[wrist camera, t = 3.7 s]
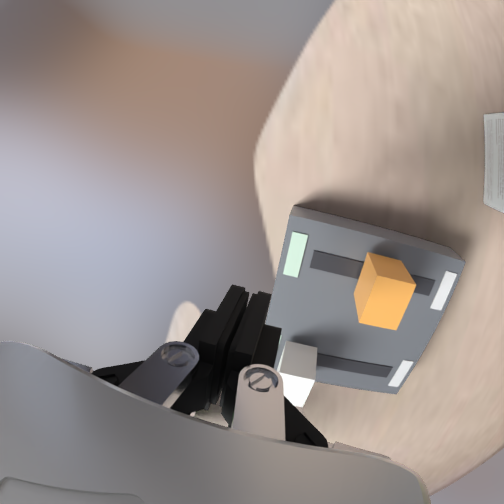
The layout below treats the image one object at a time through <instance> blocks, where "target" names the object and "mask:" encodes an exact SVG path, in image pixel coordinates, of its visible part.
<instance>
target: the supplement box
mask: <svg viewBox="0 0 504 504" xmlns="http://www.w3.org/2000/svg"><path fill="white" fill-rule="evenodd" d="M484 136H485V175H484V196H483V202H484V204H485V205H487V206H489V207H491V208H493V209H495V210H498V211H500V212H502V213H504V113H493V114H484Z"/></svg>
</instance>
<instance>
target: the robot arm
mask: <svg viewBox="0 0 504 504" xmlns="http://www.w3.org/2000/svg"><path fill="white" fill-rule="evenodd" d="M248 297H249V292H246V291H245V288H244V287H240V286H236V285H232V286H231V287H230V289H229V291H228V292H227V294H226V296H225V298H224V299H223V301H222V302H221V304H220V306H219V308H218V309H217V311H213V310H209V309H205V310H204V312H203V313H202V315H201V316H200V318H199V319H198V321H197V322H196V324H195V325H194V327H193V328H192V330H191V331H190V333H189V334H188V336H187V337H186V339H185V340H184V342H178V341H174V342H168V343H165V344H163V345H162V346H160V347H159V348H158V349H157V350H156V351H155V352H154V353H153V354H152V355H151V356H150V357H149V358H147V359H146V360H145V361H139V362H134V363H129V364H123V365H117V366H111V367H106V368H101V369H98V370H96V371H93V369H92V367H89V366H86V365H82V364H79V363H75V362H72V361H68V360H65V359H62V358H60V357H57V356H56V355H54V354H52V353H50V352H48V351H46V350H43V349H41V348H39V347H36V346H33V345H30V344H27V343H22V342H18V341H3V342H0V504H431V500H430V497H429V493H428V490H427V487H426V485H425V483H424V481H423V479H422V478H421V476H420V475H419V474H418V473H417V472H415V471H414V470H413V469H411V468H409V467H407V466H405V465H403V464H401V463H398V462H396V461H393V460H391V459H390V458H389V457H387V456H385V455H382V454H378V453H374V452H370V451H366V450H363V449H359V448H356V447H352V446H349V445H346V444H342V443H339V442H335V443H334V444H332V443H329V442H327V440H326V439H325V437H324V436H323V435H322V434H321V433H320V432H319V431H318V430H317V429H316V428H315V427H314V426H313V425H312V424H311V423H310V422H309V421H308V420H307V419H306V418H305V417H304V416H303V415H302V414H301V413H300V412H299V411H298V409H297V408H296V407H295V406H294V405H293V404H292V403H291V402H290V401H289V400H288V399H287V398H286V397H285V396H284V388H283V379H282V376H281V375H280V374H279V372H277V371H276V370H275V369H274V365H275V360H276V356H277V351H278V346H279V341H280V336H281V331H282V328H279V327H275V326H271V325H266V324H265V320H266V316H267V312H268V307H269V303H270V299H271V294H268V293H264V292H260V291H259V292H258V294H254V293H253V294H252V297H251V299H250V301H249V304H248V306H247V302H248ZM221 391H222V394H221V400H220V406H222V413H221V414H222V416H223V417H224V418H225V420H226V421H227V423H228V427H225V426H221V425H218V424H215V423H211V422H208V421H205V420H202V419H199V418H196V417H194V416H195V412H196V411H199V410H202V409H205V410H208V409H209V407H210V404H211V403H212V404H216V403H217V401H218V398H219V396H220V393H221Z"/></svg>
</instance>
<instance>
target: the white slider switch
mask: <svg viewBox="0 0 504 504" xmlns="http://www.w3.org/2000/svg"><path fill="white" fill-rule="evenodd" d="M316 362H317V347H312V346H308V345H303V344H299V343H295V342H290V341H286V342H285V346H284V349H283V352H282V355H281V359H280V362H279V365H278V368H277V372H279V374H280V375H281V376H282V379H283V388H284V396H285V397H286V398H287V399H288V400H289V401H290V402H291V403H292V404H293V405H294V406H299V407H303V405H304V403H305V401H306V399H307V397H308V395H309V393H310V390H311V388H312V386H313V384H314V382H315V376H316Z"/></svg>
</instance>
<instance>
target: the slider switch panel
mask: <svg viewBox="0 0 504 504" xmlns="http://www.w3.org/2000/svg"><path fill="white" fill-rule="evenodd" d="M367 252H370V253H374V254H378V255H381V256H385V257H389V258H393V259H397V260H401V261H402V263H403V264H404V266H405V267H406V269H407V271H408V272H409V274H410V275H411V277H412V279H413V280H414V282H415V283H416V287H415V290H414V292H413V294H412V297H411V299H410V301H409V304H408V306H407V308H406V310H405V313H404V315H403V317H402V319H401V321H400V323H399V326H398V328H397V330H391V329H386V328H381V327H376V326H372V325H367V324H362V323H359V320H358V315H357V309H356V304H355V298H354V291H355V288H356V285H357V282H358V280H359V277H360V274H361V271H362V268H363V265H364V262H365V258H366V255H367ZM464 265H465V261H464V260H463V259H462V258H461V257H460V256H459V255H458V254H457V253H456V252H454V251H453V250H452V249H451V248H450V247H446V246H443V245H440V244H437V243H434V242H430V241H427V240H424V239H420V238H417V237H413V236H410V235H407V234H403V233H400V232H396V231H393V230H389V229H385V228H382V227H378V226H374V225H371V224H367V223H363V222H359V221H355V220H352V219H348V218H344V217H340V216H336V215H332V214H328V213H323V212H319V211H315V210H311V209H307V208H302V207H298V206H293V208H292V210H291V213H290V216H289V220H288V225H287V230H286V235H285V239H284V244H283V248H282V253H281V258H280V262H279V267H278V271H277V275H276V280H275V284H274V289H273V293H272V297H271V302H270V306H269V310H268V314H267V319H266V325H271V326H275V327H279V328H282V331H281V336H280V341H279V346H278V351H277V356H276V360H275V365H274V369H275V370H276V371H277V368H278V365H279V362H280V359H281V355H282V352H283V349H284V346H285V342H286V341H290V342H295V343H299V344H303V345H308V346H312V347H317V362H316V376H315V381H316V382H321V383H326V384H331V385H337V386H343V387H349V388H355V389H361V390H368V391H375V392H382V393H391V394H397V393H398V391H399V390H400V388H401V387H402V385H403V384H404V382H405V381H406V379H407V378H408V376H409V374H410V373H411V371H412V370H413V368H414V366H415V365H416V363H417V361H418V360H419V358H420V356H421V355H422V353H423V351H424V349H425V348H426V346H427V344H428V342H429V340H430V339H431V337H432V335H433V333H434V331H435V329H436V327H437V325H438V323H439V321H440V319H441V317H442V315H443V313H444V311H445V309H446V307H447V305H448V303H449V301H450V298H451V296H452V294H453V292H454V289H455V287H456V285H457V282H458V280H459V278H460V275H461V273H462V270H463V268H464Z"/></svg>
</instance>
